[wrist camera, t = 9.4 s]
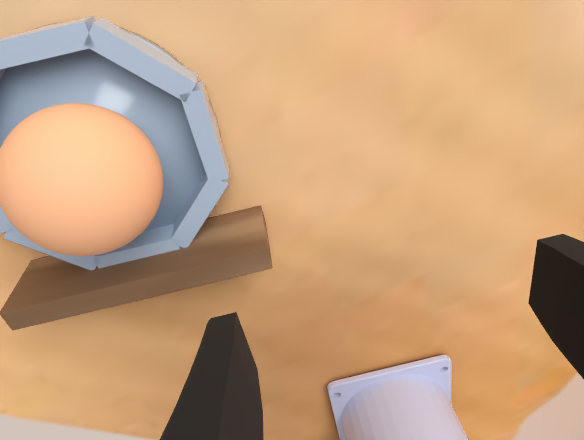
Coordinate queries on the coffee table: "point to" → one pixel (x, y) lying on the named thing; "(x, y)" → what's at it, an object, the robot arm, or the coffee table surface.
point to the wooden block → (141, 272)
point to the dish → (131, 104)
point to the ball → (79, 179)
